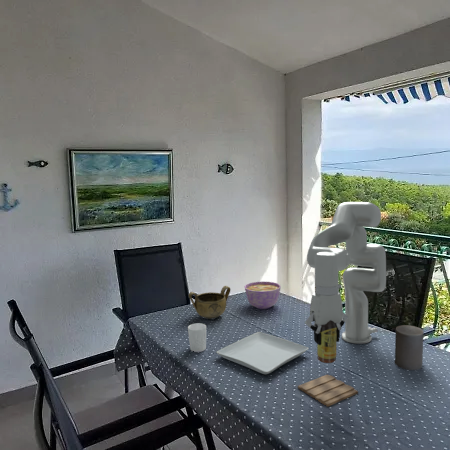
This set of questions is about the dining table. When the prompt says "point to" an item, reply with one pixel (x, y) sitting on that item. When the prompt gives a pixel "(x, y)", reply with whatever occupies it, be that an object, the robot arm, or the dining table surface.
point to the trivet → (328, 390)
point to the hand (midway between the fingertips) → (326, 341)
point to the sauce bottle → (327, 343)
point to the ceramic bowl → (210, 303)
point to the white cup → (197, 337)
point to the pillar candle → (409, 347)
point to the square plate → (262, 352)
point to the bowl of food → (262, 294)
